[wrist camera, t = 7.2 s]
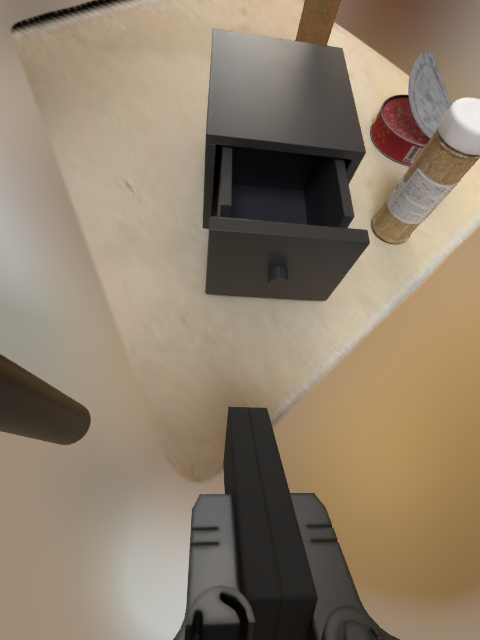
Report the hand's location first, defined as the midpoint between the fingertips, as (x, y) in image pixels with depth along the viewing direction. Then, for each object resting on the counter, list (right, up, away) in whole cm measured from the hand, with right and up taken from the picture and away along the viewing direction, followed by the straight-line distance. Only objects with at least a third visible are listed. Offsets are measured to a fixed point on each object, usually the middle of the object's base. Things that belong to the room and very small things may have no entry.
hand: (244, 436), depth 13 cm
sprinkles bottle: (+17, +15, +25) cm, 33 cm away
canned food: (+22, +29, +32) cm, 48 cm away
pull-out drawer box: (+2, +12, +20) cm, 24 cm away
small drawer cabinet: (+2, +20, +25) cm, 32 cm away
